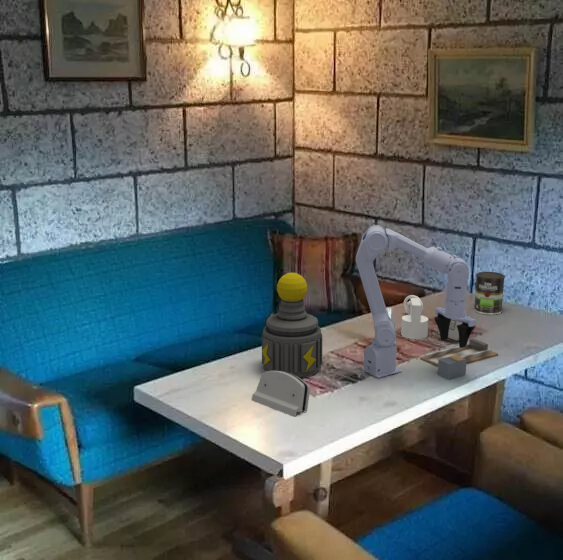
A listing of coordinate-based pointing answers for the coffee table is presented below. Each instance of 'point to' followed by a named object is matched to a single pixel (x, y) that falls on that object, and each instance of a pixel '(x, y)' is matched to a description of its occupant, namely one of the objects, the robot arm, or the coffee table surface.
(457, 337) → the electrical switch
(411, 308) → the cylinder with rectangular tab
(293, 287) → the grey tesla coil
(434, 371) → the coffee table surface
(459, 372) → the block
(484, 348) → the din rail board
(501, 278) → the coffee can
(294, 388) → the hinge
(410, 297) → the ring around a ball
